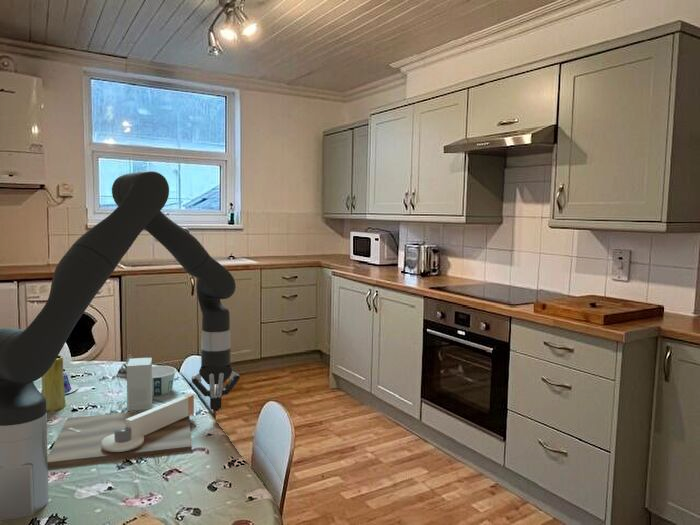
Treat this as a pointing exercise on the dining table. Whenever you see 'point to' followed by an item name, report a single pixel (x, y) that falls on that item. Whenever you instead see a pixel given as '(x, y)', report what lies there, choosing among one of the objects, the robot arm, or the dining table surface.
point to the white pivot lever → (148, 424)
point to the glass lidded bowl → (124, 368)
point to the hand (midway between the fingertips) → (215, 410)
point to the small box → (139, 384)
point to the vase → (54, 386)
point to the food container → (162, 379)
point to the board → (88, 432)
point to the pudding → (65, 386)
